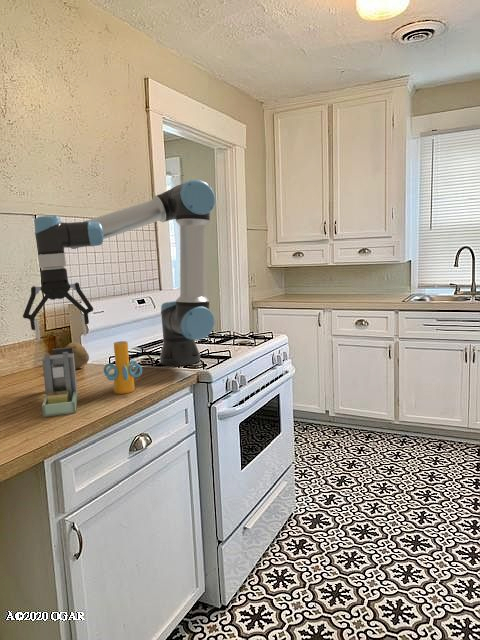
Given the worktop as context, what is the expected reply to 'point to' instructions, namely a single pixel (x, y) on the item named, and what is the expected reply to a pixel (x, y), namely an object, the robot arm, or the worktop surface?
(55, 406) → the tray
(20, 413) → the worktop surface
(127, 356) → the cylinder
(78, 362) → the natural sponge
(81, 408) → the worktop surface
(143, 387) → the worktop surface
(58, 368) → the shaft
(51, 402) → the block
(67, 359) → the housing
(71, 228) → the robot arm
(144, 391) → the worktop surface
